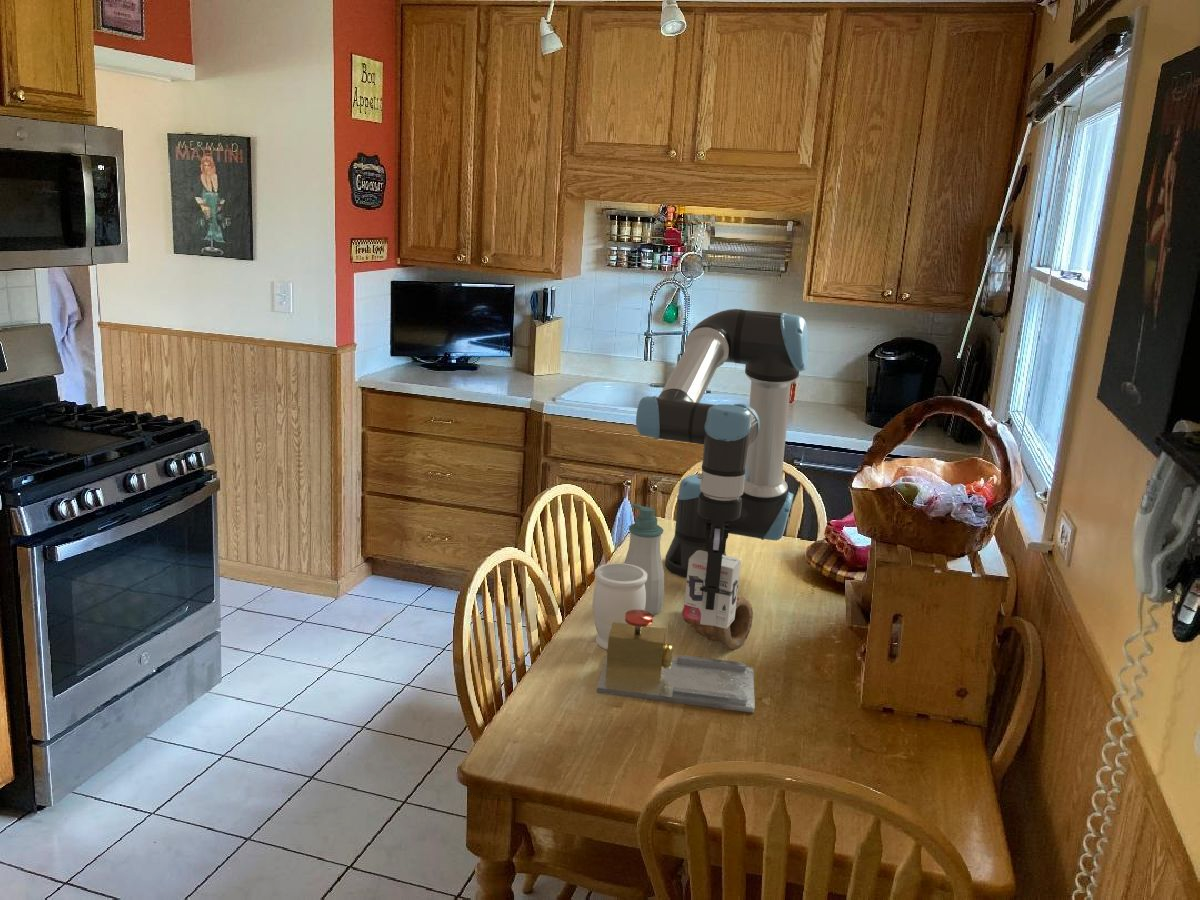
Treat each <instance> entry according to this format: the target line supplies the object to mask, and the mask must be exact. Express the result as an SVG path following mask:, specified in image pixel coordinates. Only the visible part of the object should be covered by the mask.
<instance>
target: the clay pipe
mask: <svg viewBox="0 0 1200 900" xmlns="http://www.w3.org/2000/svg"><path fill="white" fill-rule="evenodd" d="M683 612H684V607H683V609H682V612H681V615H682V619H683V621H684V622H685V623H687V624H688V625H690V627H691V628H693V629H694V631H695V633H696V634H697V635H698V636H702V637H704V638H706V639H707V640H709V641H712V642H715V643H720V644H722V645H723V646H724V647H726V648H727V649H729V650H735V649H738V648H741V647H742V646H743V644H744V643H745V642H746V640H747V639H748V637H749V634H750V631H751V629H752V626H753V619H754V611H753V606H752V603H751V601H750V600H749V599H747V598H746V597H744V596H743V595H737V602H736V611H735V619H734V621H733V622H732V623H731V624H730V626H729V627H728V628H727V629H725V628H721V627H717V626H711V625H703V624H700V622H698V621H694V620H690V619H686V618H683Z"/></svg>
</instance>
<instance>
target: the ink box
mask: <svg viewBox="0 0 1200 900" xmlns="http://www.w3.org/2000/svg"><path fill="white" fill-rule="evenodd" d="M707 559H708V552H707V551H702V550H698V551H696V552H695V553H694V554H693V555H692V556H691V557H690V558H689V563H688V572H687V578H686V583H685V584H686V585H685V592H684V603H683V608H684V612H683V616H682V619H683V618H686V619H690V620H694V621H698V622H700V620H701V610H702V600H703V591H700V587H704V586H705V579H706V569H707ZM741 563H742V562H741V559H740V558H737V557H734V556H729V555H726V556H725V555H722V563H721V573H720V583H719V589H720V591H719V597H718V606H717V616H716V625H715V626H717V627H721V628H725V629H727V628H728V627H729V626H730V624H731V623H732V622H733V621H734V619H735V611H736V602H737V596H738V590H739V583H740V582H739V581H740V575H741V573H740V572H741Z"/></svg>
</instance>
